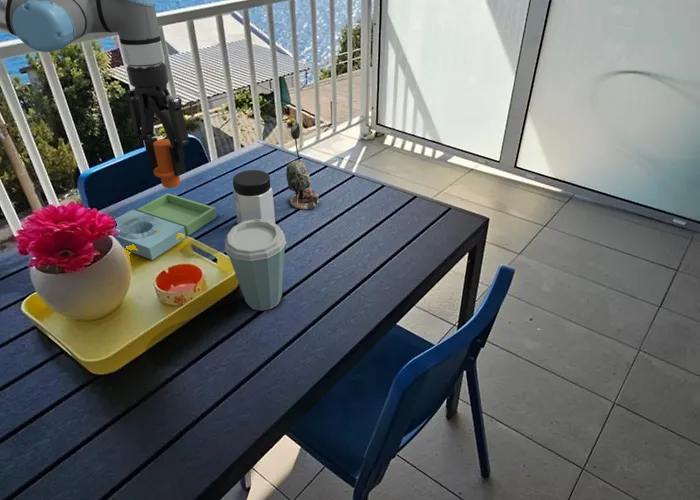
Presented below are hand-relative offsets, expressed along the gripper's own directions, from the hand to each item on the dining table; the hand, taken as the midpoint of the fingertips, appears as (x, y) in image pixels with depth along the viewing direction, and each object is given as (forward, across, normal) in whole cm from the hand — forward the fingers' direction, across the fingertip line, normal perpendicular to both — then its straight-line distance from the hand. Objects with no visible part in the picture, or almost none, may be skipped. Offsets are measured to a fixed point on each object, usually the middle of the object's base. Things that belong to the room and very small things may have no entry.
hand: (168, 170), depth 112 cm
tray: (+12, 0, 0) cm, 12 cm away
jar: (+13, -18, -7) cm, 23 cm away
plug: (+3, 0, 0) cm, 3 cm away
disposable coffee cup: (+13, -36, +15) cm, 41 cm away
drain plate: (+12, 0, +11) cm, 16 cm away
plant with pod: (+13, -22, -21) cm, 33 cm away
